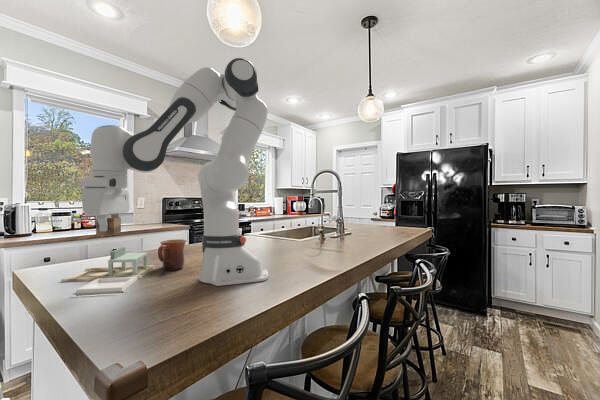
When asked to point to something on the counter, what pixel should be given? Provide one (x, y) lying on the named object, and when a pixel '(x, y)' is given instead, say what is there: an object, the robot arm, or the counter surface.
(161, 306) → the counter surface
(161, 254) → the mug
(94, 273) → the board
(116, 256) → the green stool
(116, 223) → the block
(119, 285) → the dish
